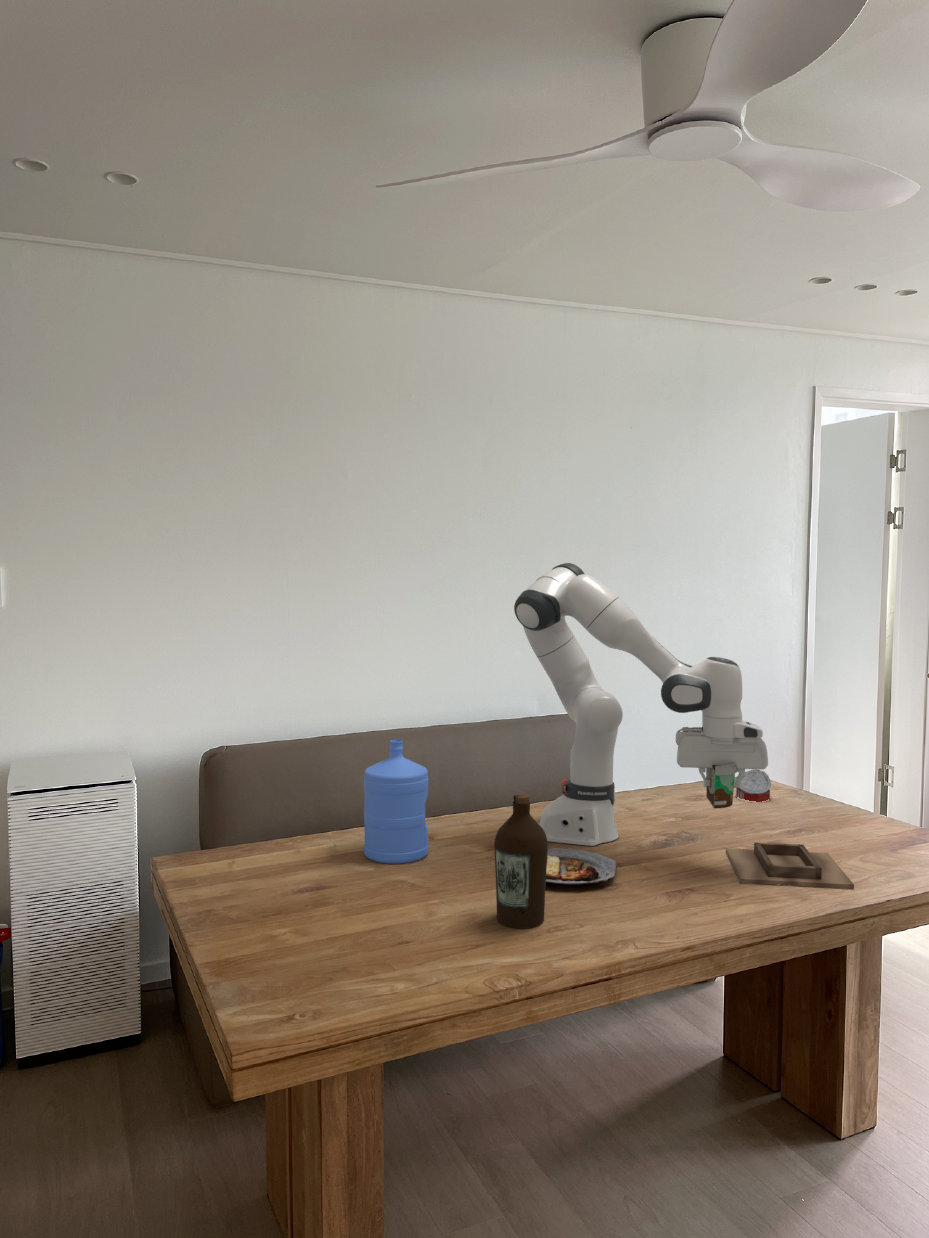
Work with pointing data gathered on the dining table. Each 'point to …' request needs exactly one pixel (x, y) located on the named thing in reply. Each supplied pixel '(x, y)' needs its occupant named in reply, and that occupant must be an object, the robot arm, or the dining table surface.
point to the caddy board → (787, 866)
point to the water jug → (395, 809)
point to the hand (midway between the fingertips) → (721, 786)
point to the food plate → (578, 867)
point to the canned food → (754, 786)
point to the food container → (721, 785)
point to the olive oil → (520, 868)
